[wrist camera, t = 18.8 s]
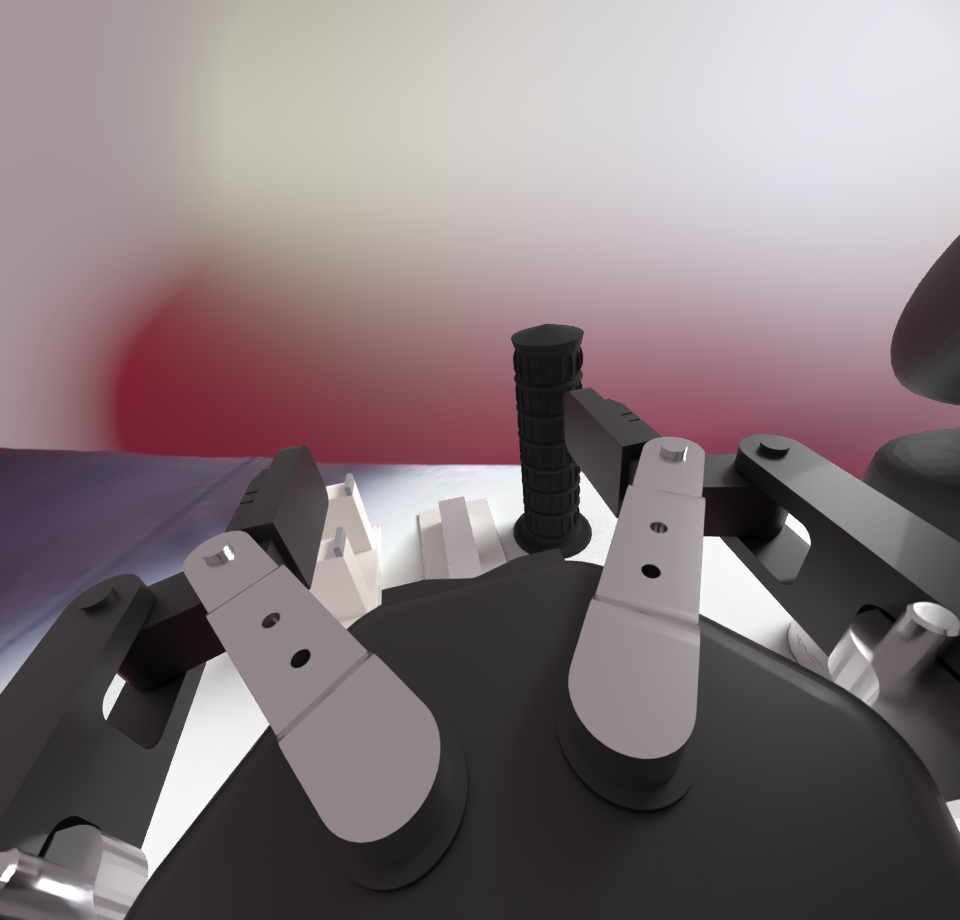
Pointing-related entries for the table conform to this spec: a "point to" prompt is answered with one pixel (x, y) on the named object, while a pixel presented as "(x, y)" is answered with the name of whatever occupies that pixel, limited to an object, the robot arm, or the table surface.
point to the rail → (459, 540)
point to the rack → (347, 557)
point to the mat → (482, 532)
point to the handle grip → (548, 439)
